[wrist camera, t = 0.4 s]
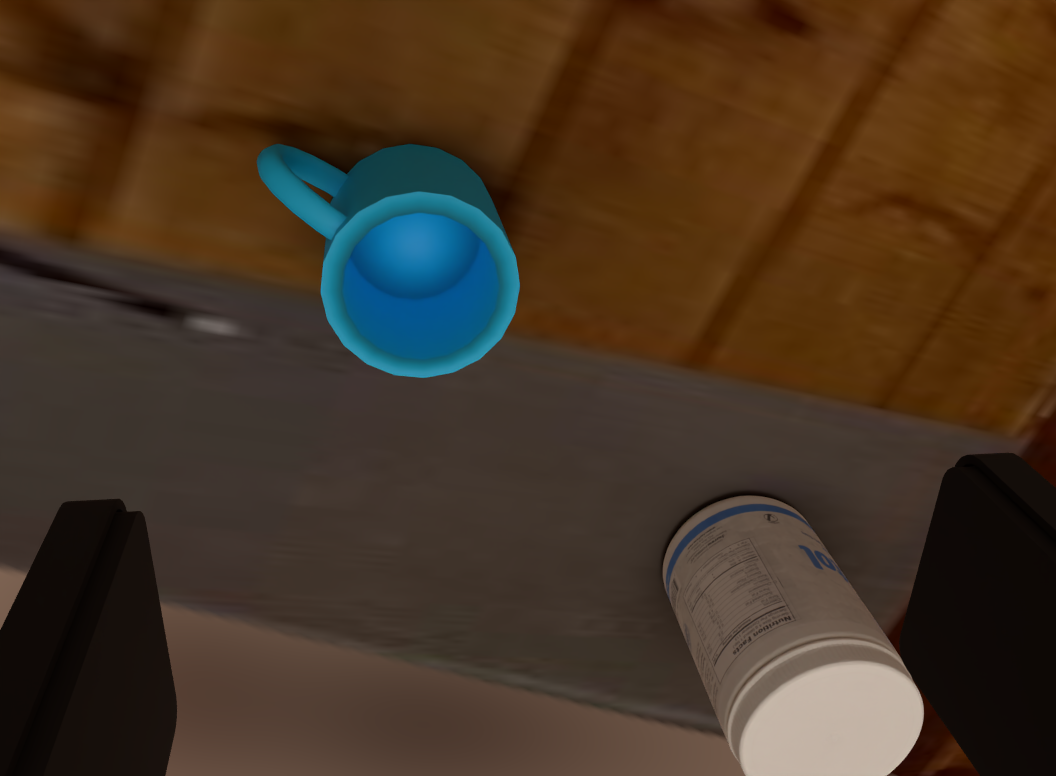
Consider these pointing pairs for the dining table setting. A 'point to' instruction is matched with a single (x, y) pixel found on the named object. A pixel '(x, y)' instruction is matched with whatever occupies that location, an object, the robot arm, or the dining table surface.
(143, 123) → the dining table surface
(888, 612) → the dining table surface
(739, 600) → the supplement tub
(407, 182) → the mug
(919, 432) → the dining table surface
